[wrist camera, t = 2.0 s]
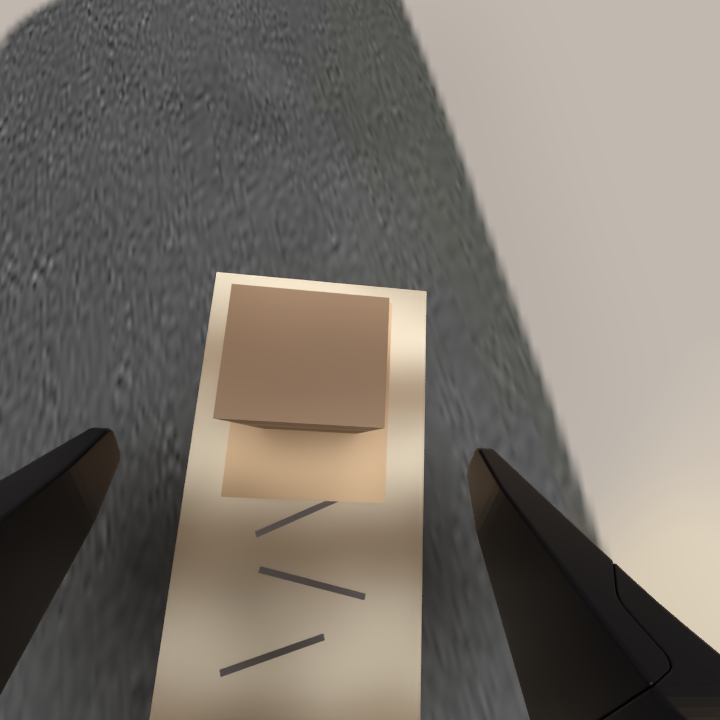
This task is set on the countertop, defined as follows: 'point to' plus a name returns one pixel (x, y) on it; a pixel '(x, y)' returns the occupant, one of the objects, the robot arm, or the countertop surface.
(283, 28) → the countertop surface
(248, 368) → the block
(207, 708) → the board
